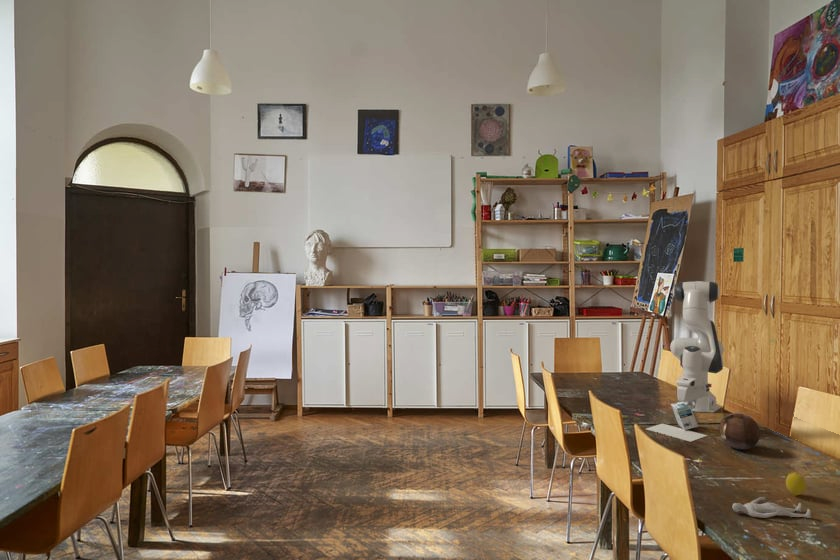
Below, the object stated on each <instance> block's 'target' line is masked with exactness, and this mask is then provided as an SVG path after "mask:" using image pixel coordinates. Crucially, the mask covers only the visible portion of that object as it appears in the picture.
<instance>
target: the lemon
mask: <svg viewBox="0 0 840 560" xmlns="http://www.w3.org/2000/svg"><path fill="white" fill-rule="evenodd" d="M785 487H786V489H787V490H788V492H789V493H791V494H792V495H793V496H795V497H796V496H800V495H803V494H804V493H805V491H806V487H807V484H806V481H805V479H804V477H803V476H802V475H801V474H799V473H798V472H791V473H789V474H788V475H787V476H786V479H785Z"/></svg>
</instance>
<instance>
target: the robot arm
mask: <svg viewBox="0 0 840 560" xmlns="http://www.w3.org/2000/svg"><path fill="white" fill-rule="evenodd" d="M672 295H673V297H674V299H675V300H676V301H678V302H681V303H682V302H683V303H682V320H683V322H684V325H685V328H686V329H687V330H689V331H690V332H692V333H695V334H696V335H697V336H698V337H677V338H674V339H673V340H672V341H671V343H670V346H669V349H670V351H671V353H672V355H673V356H675V357H676V358H677V359H678V360H679V361H680V363H679V364H680V367H681V368H682V372H681V374H682V375H681V376H680V377H679V378H678V379H677V380H676V385H677V388H676V390H677V391H676V395H677V401H678V402H686V403H687V404H689V405H690V406H691V408H692V411H693V412H696V413H715V412H717V411H718V410H720V409H722V405H720V404H717V397H716V396H715V394H714V393H712V392H711V391H710V390H711V389H710V388H712V383H709V380H708V379H709V378H708V377H709V375H708V373H712V374H718V373H720V372H721V371H723V369H724V366H725V365H724V359H723V357H722V356H723V354H724V351H725V350H724V345H723V343H722V342H721V341H720V340H719V338H718V334H717V328H716V325H715V323H714V321H713V320H711V319H710V318H709V306H708V302H709V304H712V303H713V302H716V301H718V300H719V299H718V298H719V297H720V295H721V289H720V286H719V284H718V283H717V282H714V281H699V280H695V281H679V282H676V283H675V284H674V286H673V288H672Z"/></svg>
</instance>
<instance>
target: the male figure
mask: <svg viewBox="0 0 840 560" xmlns="http://www.w3.org/2000/svg"><path fill="white" fill-rule="evenodd" d="M759 501H764V503H758V502H759ZM765 501H766V497H765V496H760V497H758V498H756V499H753V500H751V501H750V502H747V503H744V504H742V503H740V502H734V503H732V507H731V508H732V510H733V511H734V512H737V513H739V512H743V513H744V514H746V515H748V516H749V517H752V518H761V519H763V518H764V519H766V518H771V517H774V516H779V517H780V516H781V517H782V516H788V517H790V518H792V517H807V518H810V519H811V515H812V514H811V513H812V512H811V509H809V508H807V510H806V513H805V514H801V513H802V507H803V506H802V503H801V502H799V503H798V505H797V506H796V507H795V508H792V507H791V508H789V507H785V506H781V505H780V504H777V503H773V502H765ZM795 511H800V512H799V513H797V512H795Z"/></svg>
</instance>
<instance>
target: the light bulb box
mask: <svg viewBox="0 0 840 560" xmlns="http://www.w3.org/2000/svg"><path fill="white" fill-rule="evenodd" d="M670 406H671V409H672V411H673V413H674V416H675V419H676V422H677V425H678V426H679V427H680V428H681V429H684V430H690V429H694V428H698V427H699V424H698V422H697V419H696V416H695V414H694V411H692V408H691V406H690V405H689V404H687V403H686V402H681V401H678V402H674V403H670Z"/></svg>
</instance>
